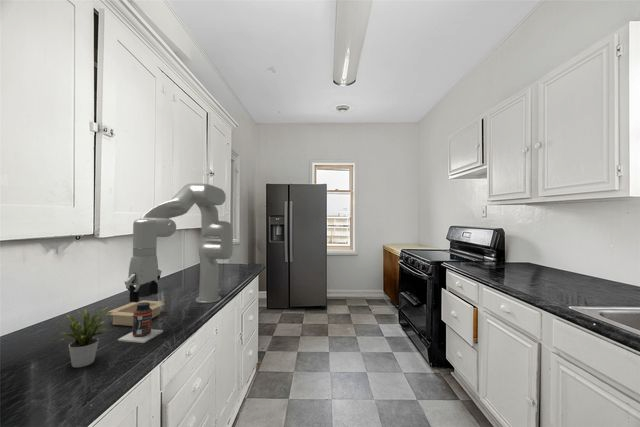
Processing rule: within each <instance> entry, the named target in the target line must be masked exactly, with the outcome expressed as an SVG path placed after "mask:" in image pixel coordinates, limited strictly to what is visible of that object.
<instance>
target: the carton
mask: <svg viewBox="0 0 640 427" xmlns="http://www.w3.org/2000/svg"><path fill="white" fill-rule="evenodd" d="M142 302H148V303H150V306H149V307H150V308H151V309H152V319H154V318H155V317H156V318H157V316H159V315H160V314H161V307H162V306H164V305H166V303H164V301H161V300H160V301H159V300H139V302H137V303H136V302H129V303H126V304H125V305H121V306H119V307H116V308H114V309H111V310H108V311H107V313H108V315H107V316H112V325H114V326H115V325H117V326H129V327H133V315H134V311H135V310H136V309H137V304H138V303H142ZM109 312H110V313H112V314H109ZM114 312H116V313H114Z"/></svg>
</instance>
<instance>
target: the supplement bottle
mask: <svg viewBox="0 0 640 427" xmlns="http://www.w3.org/2000/svg"><path fill="white" fill-rule="evenodd" d="M149 306H150V303H148V302H142V303H138V304H137V309H136V310H135V311H134V315H133V326H132V332H133V336H136V337H142V336H146V335H148V334H150V333H151V329H152V325H153V324H152V322H153V321H152V320H153V318H152V309H151V308H150V307H149Z"/></svg>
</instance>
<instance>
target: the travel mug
mask: <svg viewBox="0 0 640 427" xmlns="http://www.w3.org/2000/svg"><path fill="white" fill-rule="evenodd" d="M149 284H150V282H148V283H145V284H142V285H140V287H139V289H138V291H139V298H145V297H146V296H147V297H151V296H152V295H153V294H149ZM150 295H151V296H150Z"/></svg>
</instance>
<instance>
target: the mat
mask: <svg viewBox="0 0 640 427" xmlns="http://www.w3.org/2000/svg"><path fill="white" fill-rule="evenodd" d="M163 332H164V329H163V330H162V329H155V328H154V329H152V328H151V333H150V334H148V335H146V336H142V337H136V336H133V331H131V332H129V333H127V334H125V335H123V336H121V337H119V338H118V339H117V341H118V342H127V343H140V344H145V343H146V342H149V341H150V340H152V339H153V338H155V337H157V336H158V335H160V334H162V333H163Z"/></svg>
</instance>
